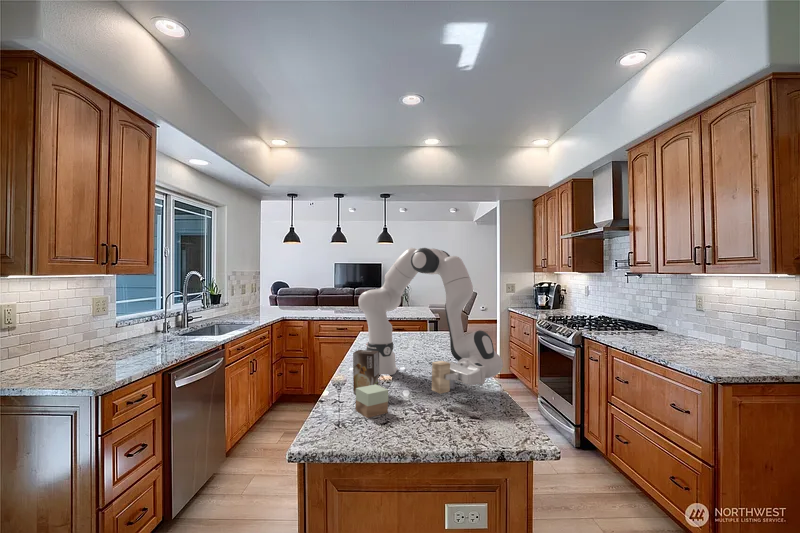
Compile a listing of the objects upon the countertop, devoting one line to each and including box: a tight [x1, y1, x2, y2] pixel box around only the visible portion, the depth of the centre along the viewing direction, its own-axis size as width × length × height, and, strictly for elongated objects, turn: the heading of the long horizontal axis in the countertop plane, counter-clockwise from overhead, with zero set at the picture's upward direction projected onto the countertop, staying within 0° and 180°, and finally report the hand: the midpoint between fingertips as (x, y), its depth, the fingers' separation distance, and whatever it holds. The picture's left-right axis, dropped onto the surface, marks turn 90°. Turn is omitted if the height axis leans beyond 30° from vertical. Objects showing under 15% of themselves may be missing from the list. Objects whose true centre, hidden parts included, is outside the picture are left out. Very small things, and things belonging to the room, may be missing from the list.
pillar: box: [431, 360, 451, 395], centre depth 142 cm, size 4×4×10 cm
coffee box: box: [352, 349, 380, 395], centre depth 157 cm, size 9×6×16 cm
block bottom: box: [355, 399, 389, 419], centre depth 136 cm, size 8×8×4 cm
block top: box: [355, 384, 389, 406], centre depth 136 cm, size 8×8×4 cm
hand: (439, 375), depth 142 cm, fingers closed on pillar, 4 cm apart
